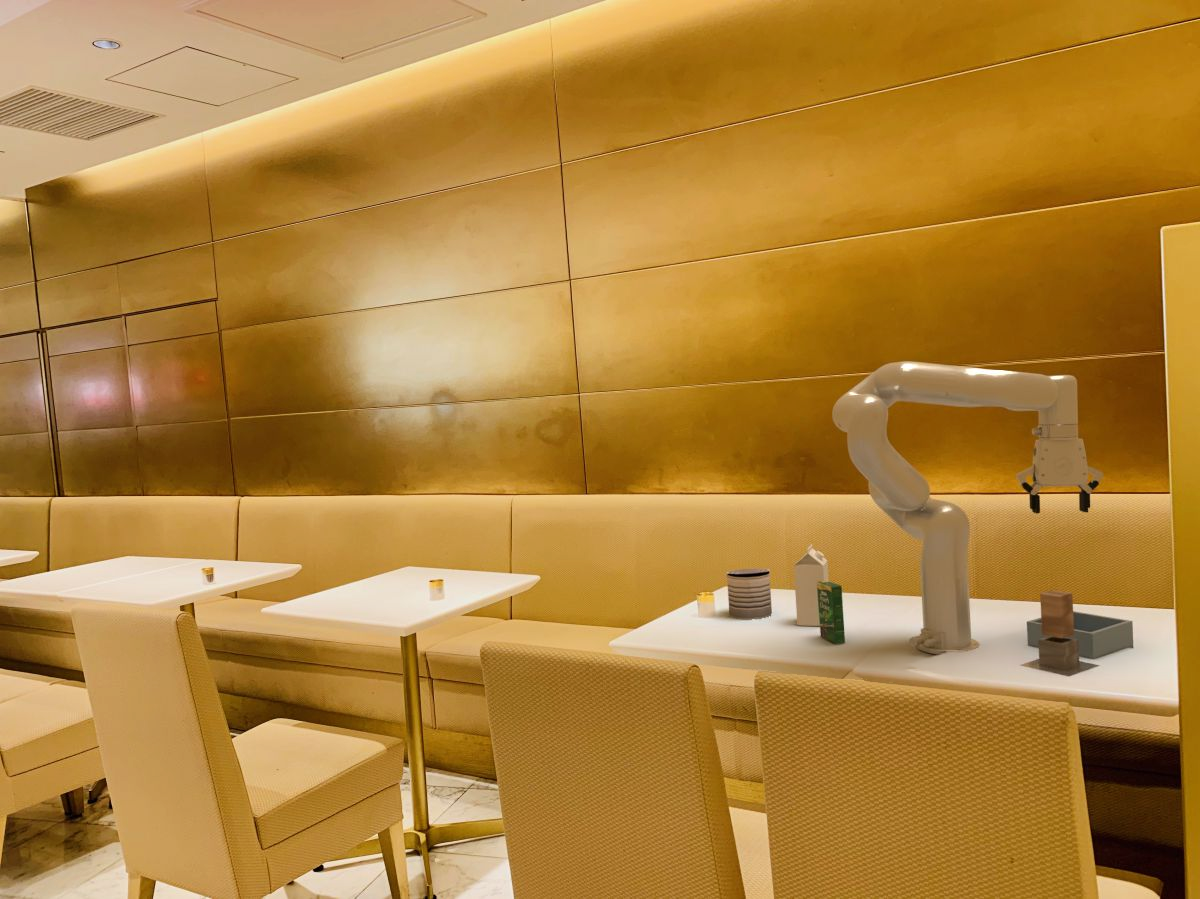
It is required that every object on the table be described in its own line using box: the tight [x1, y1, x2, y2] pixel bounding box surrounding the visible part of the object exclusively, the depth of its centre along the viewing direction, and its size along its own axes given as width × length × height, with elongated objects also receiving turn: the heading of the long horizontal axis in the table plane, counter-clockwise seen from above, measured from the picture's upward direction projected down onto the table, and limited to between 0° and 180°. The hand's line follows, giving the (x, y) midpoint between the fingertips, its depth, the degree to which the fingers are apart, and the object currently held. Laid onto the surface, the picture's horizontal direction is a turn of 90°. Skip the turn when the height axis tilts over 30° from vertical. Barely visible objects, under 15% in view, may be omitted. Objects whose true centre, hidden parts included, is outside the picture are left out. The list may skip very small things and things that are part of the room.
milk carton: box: [793, 544, 829, 627], centre depth 222 cm, size 7×7×19 cm
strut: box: [1038, 589, 1080, 671], centre depth 174 cm, size 5×5×14 cm
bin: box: [1026, 610, 1134, 660], centre depth 186 cm, size 14×14×6 cm
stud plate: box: [1020, 658, 1101, 678], centre depth 174 cm, size 10×10×5 cm
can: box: [726, 568, 773, 621], centre depth 235 cm, size 11×11×12 cm
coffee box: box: [817, 580, 846, 645], centre depth 206 cm, size 8×3×13 cm, turn 10°
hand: (1059, 512), depth 194 cm, fingers open, 9 cm apart
